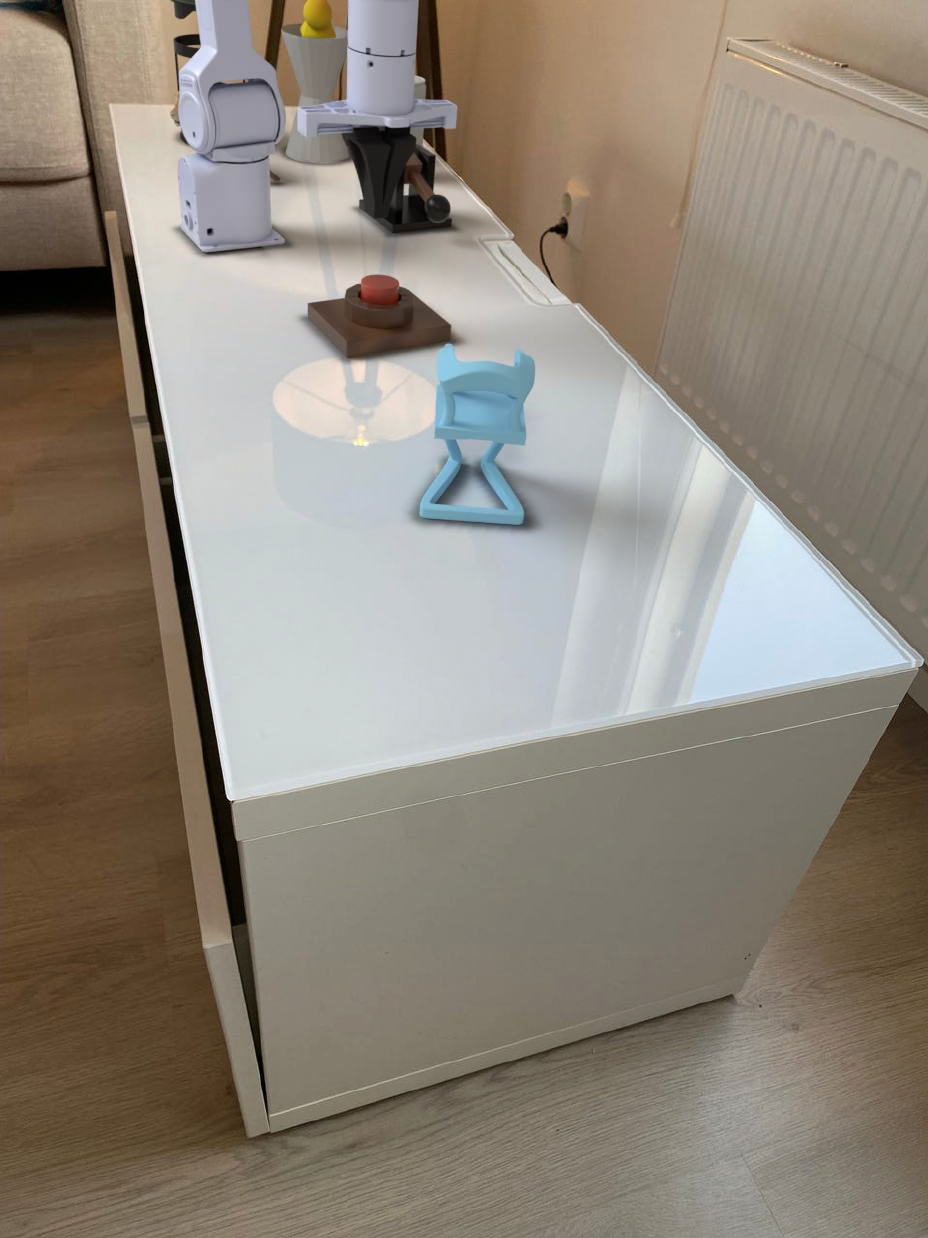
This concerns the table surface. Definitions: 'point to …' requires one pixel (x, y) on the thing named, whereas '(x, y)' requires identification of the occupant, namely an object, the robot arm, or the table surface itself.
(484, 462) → the chair
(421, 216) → the bracket
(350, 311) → the button block
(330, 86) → the grey hourglass vase
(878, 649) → the table surface
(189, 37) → the french press
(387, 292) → the button
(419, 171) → the lever
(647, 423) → the table surface
